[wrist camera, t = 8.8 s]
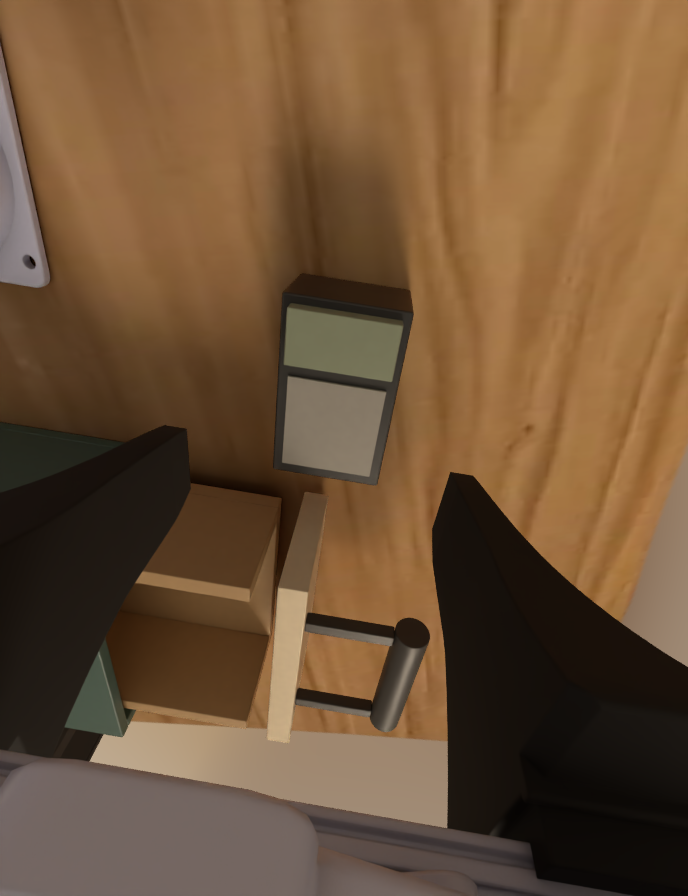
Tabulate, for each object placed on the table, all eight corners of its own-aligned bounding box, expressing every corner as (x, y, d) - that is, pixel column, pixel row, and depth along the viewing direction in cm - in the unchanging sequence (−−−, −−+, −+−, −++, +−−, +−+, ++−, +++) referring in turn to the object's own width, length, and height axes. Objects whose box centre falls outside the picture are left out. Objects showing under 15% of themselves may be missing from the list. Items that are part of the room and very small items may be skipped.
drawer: (434, 512, 22) (446, 615, 17) (390, 654, 28) (389, 761, 23) (68, 451, 22) (-31, 535, 17) (105, 606, 29) (41, 701, 23)
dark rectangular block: (289, 429, 21) (269, 477, 18) (300, 272, 17) (278, 295, 14) (379, 444, 21) (376, 495, 18) (410, 289, 17) (414, 317, 14)
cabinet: (166, 448, 23) (73, 560, 16) (183, 614, 30) (123, 738, 23) (-105, 404, 23) (-305, 496, 16) (-24, 578, 30) (-142, 692, 23)
